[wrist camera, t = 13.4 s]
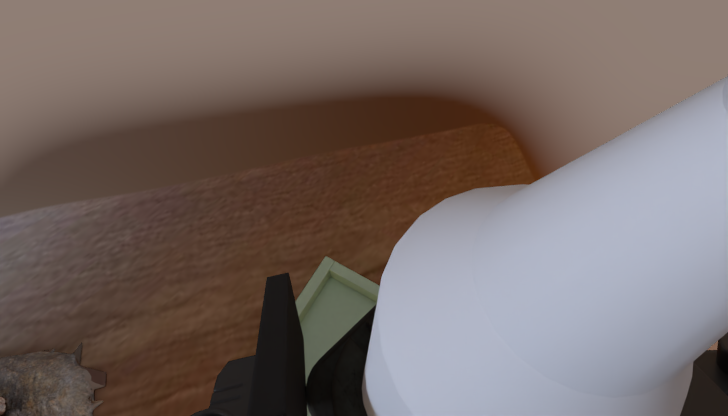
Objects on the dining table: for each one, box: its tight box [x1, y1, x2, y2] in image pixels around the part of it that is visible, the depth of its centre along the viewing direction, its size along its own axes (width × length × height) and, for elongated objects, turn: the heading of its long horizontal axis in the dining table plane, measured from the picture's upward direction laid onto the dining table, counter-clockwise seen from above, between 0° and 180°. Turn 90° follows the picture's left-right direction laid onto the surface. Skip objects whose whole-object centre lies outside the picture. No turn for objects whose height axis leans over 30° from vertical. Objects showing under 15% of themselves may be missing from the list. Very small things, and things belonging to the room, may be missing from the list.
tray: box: [295, 256, 380, 416], centre depth 25 cm, size 17×14×2 cm
